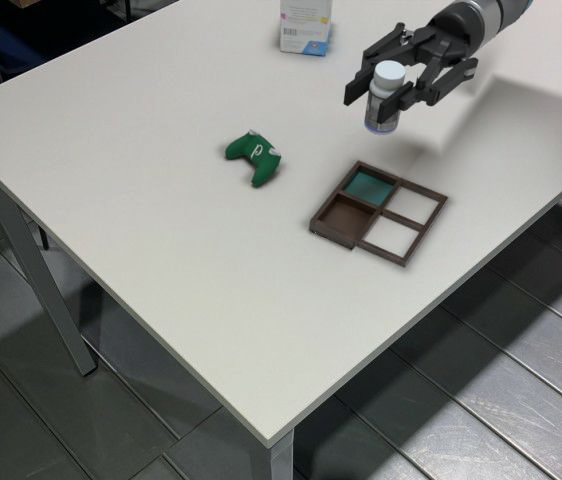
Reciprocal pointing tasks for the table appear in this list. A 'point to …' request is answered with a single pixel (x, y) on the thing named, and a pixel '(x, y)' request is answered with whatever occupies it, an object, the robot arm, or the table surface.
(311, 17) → the ink box
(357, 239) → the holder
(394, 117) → the pill bottle
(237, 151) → the gaming controller
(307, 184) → the table surface
